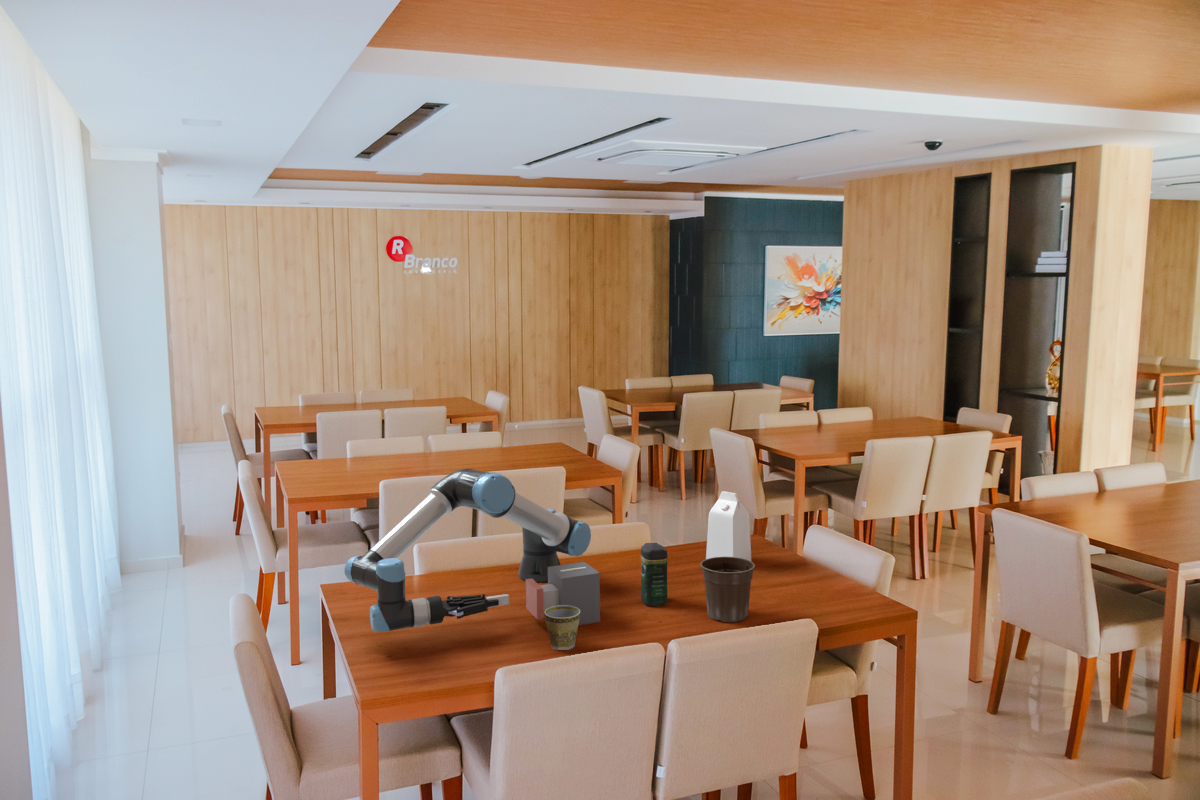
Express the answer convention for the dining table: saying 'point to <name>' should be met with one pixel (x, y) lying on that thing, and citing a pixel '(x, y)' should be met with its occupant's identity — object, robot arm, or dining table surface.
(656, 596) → the coffee jar
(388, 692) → the dining table surface
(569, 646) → the ceramic cup
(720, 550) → the milk
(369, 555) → the robot arm
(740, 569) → the plant pot
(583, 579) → the press housing
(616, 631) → the dining table surface
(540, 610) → the pink piece
